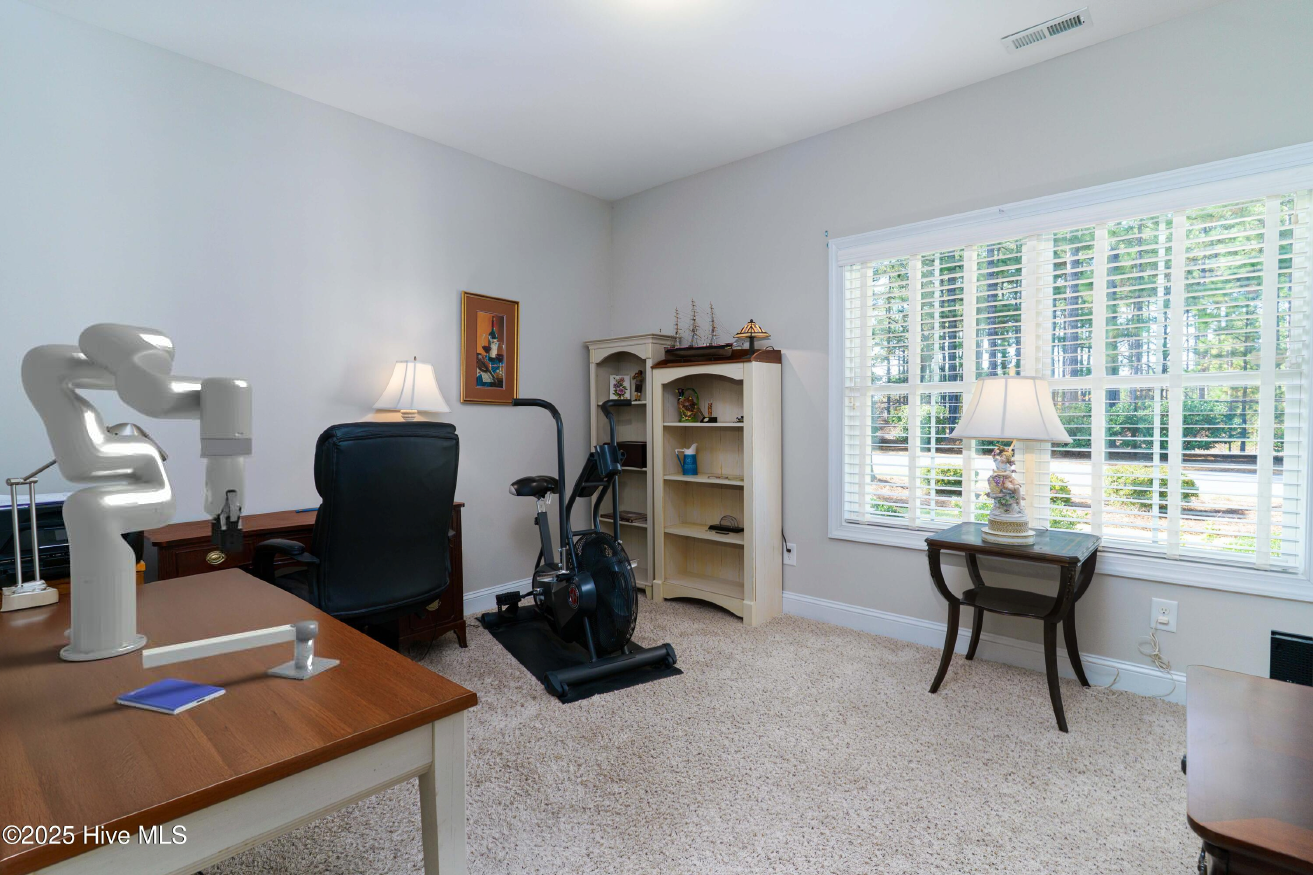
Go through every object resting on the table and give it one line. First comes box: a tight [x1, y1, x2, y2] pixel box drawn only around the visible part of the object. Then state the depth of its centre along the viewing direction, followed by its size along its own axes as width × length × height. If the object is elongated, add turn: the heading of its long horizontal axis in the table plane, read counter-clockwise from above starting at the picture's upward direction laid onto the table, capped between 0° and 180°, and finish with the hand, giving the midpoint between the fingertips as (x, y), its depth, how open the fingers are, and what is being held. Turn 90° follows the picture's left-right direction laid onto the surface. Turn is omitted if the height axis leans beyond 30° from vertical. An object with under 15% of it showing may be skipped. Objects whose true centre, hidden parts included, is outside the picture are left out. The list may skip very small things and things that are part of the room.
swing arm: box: [141, 620, 319, 669], centre depth 108 cm, size 25×4×2 cm, turn 131°
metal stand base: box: [266, 636, 340, 681], centre depth 115 cm, size 8×8×6 cm
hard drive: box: [116, 678, 226, 715], centre depth 103 cm, size 2×8×12 cm
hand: (226, 547), depth 112 cm, fingers open, 9 cm apart
